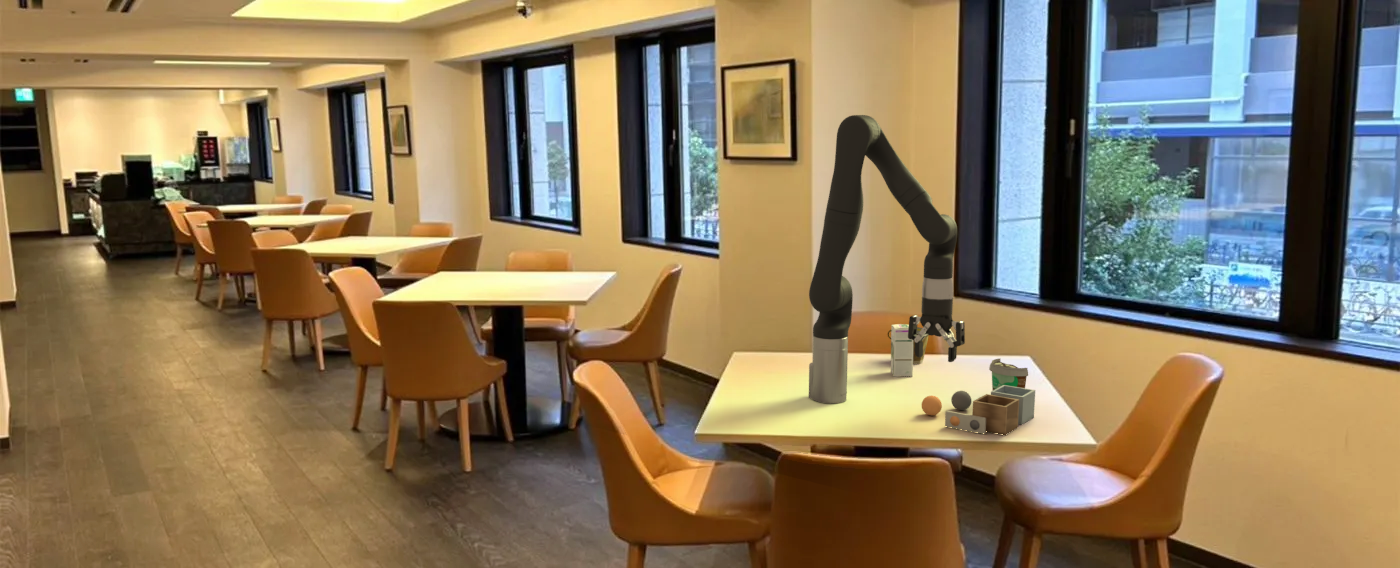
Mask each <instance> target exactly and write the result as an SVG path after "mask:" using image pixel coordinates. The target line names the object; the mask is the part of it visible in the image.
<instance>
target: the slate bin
mask: <svg viewBox="0 0 1400 568" xmlns="http://www.w3.org/2000/svg"><path fill="white" fill-rule="evenodd" d="M990 395H995V396H1001V397H1007V398H1013V399H1019V412H1018V425H1020V424H1021V426H1022V424H1023V425H1024V424H1025V422H1026V423H1028V422H1029V421H1031V420H1032V419H1033V418H1035V407H1036V406H1035V403H1036V390H1035V389H1030V388H1026V387H1025V388H1019V387H1013V386H1007V385H1002V386H1001V387H999V388H997V389H995V390H993V391H992V390H991V391H990Z"/></svg>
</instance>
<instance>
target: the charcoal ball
mask: <svg viewBox="0 0 1400 568" xmlns="http://www.w3.org/2000/svg"><path fill="white" fill-rule="evenodd" d="M951 404H952V407H954V408H955V410H958V411H966V410H968V409H969V408H970V407H971V406H972V396H971V395H970V393H968V392H967V391H965V390H957V391H955V392H954V393H953V394H952V396H951Z"/></svg>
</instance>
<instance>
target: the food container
mask: <svg viewBox="0 0 1400 568" xmlns="http://www.w3.org/2000/svg"><path fill="white" fill-rule="evenodd" d="M988 368H989V369H988V370H989V371H990V372H991V385H992V386H991V387H992V390H991V391H993V390H995V389H997V388H999V387H1001V386H1002V385H1007V386H1013V387H1019V388H1026V383H1027V377H1029V370H1028V367H1017V365H1014V364H1009V363H1005V362H1002V361H1001V358H995V359H993V360H991V362H990V364H989V367H988Z"/></svg>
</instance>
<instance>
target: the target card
mask: <svg viewBox="0 0 1400 568" xmlns="http://www.w3.org/2000/svg"><path fill="white" fill-rule="evenodd" d="M944 419H945V421H944V427H945V426H947V427H952V428H957V429H962V430H961V431H963V430H967V431H966V432H968V431H972V432H971V433H973V432H978V433H982V434H981V435H983V433H984V434H985V433H987V432H986V418H984V417H979V416H973V415H972V414H968V413H962V412H956V411H951V410H945V418H944ZM947 427H946V428H947ZM952 428H951V429H952ZM957 429H956V430H957ZM978 433H977V434H978ZM985 435H986V434H985Z"/></svg>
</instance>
